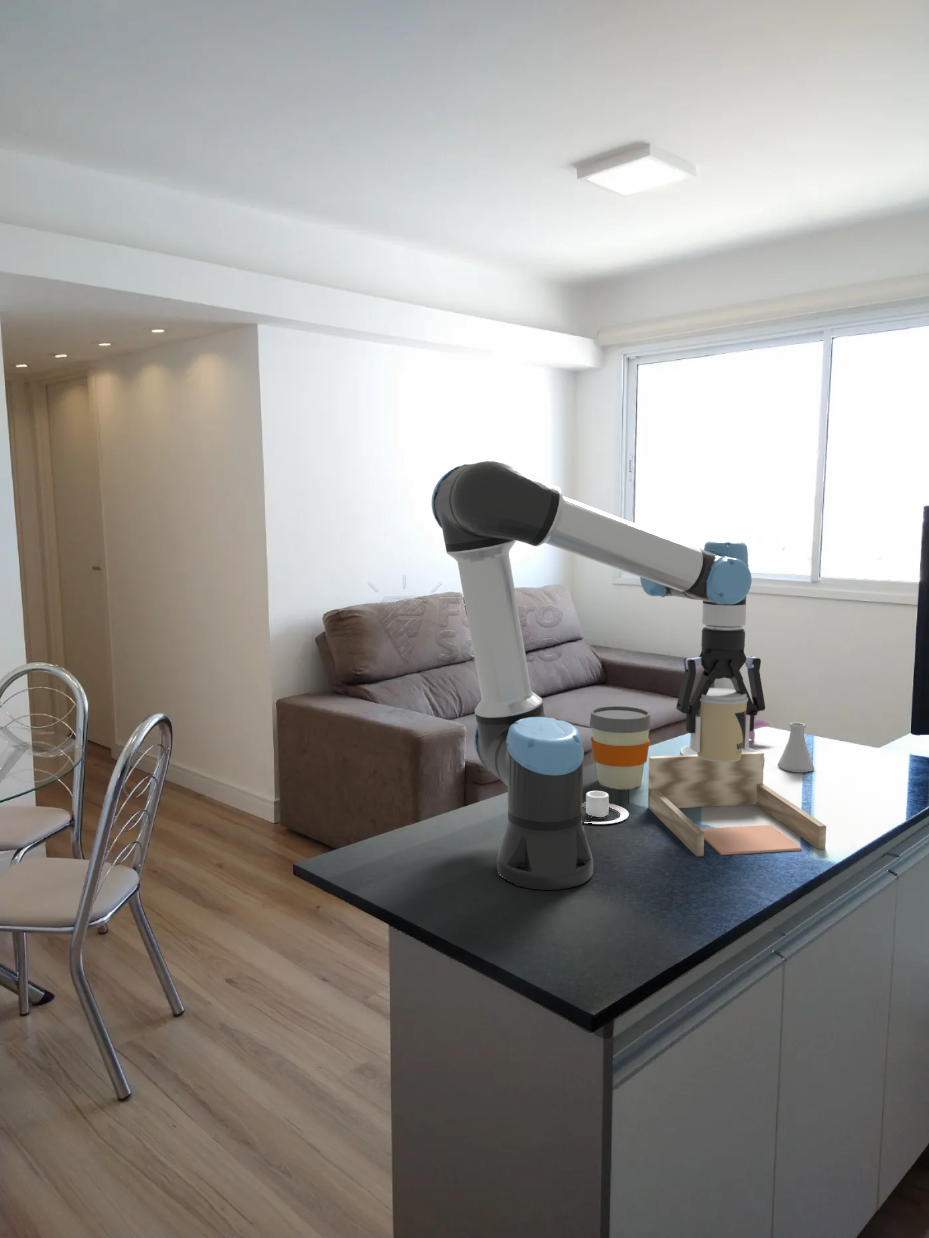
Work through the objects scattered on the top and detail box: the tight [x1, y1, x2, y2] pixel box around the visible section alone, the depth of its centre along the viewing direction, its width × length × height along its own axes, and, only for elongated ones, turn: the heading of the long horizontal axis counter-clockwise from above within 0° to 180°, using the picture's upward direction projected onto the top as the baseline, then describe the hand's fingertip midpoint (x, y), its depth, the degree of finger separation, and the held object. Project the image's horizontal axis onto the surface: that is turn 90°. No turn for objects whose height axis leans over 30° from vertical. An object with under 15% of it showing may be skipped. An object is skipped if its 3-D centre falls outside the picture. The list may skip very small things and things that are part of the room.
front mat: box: [700, 824, 803, 856], centre depth 150 cm, size 14×11×1 cm
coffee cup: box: [697, 687, 748, 762], centre depth 159 cm, size 9×9×12 cm
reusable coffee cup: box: [589, 705, 652, 790], centre depth 181 cm, size 13×13×15 cm
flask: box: [777, 722, 815, 773], centre depth 190 cm, size 7×7×10 cm
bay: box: [647, 751, 827, 857], centre depth 156 cm, size 22×24×10 cm
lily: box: [749, 711, 773, 741], centre depth 211 cm, size 12×12×10 cm
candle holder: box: [583, 790, 630, 825], centre depth 163 cm, size 12×12×4 cm
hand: (719, 749), depth 160 cm, fingers closed on coffee cup, 9 cm apart
